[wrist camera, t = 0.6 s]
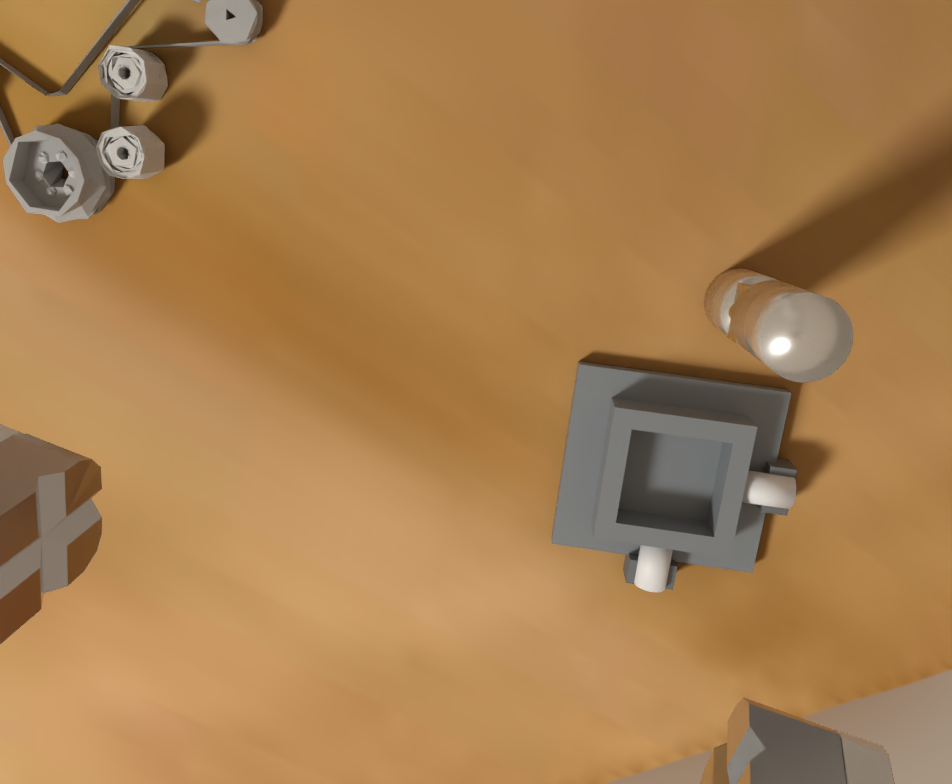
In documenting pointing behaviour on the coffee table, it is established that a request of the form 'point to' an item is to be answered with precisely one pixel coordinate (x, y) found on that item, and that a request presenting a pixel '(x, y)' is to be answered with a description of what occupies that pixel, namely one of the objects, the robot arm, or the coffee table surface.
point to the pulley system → (120, 148)
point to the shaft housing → (671, 470)
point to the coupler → (780, 324)
